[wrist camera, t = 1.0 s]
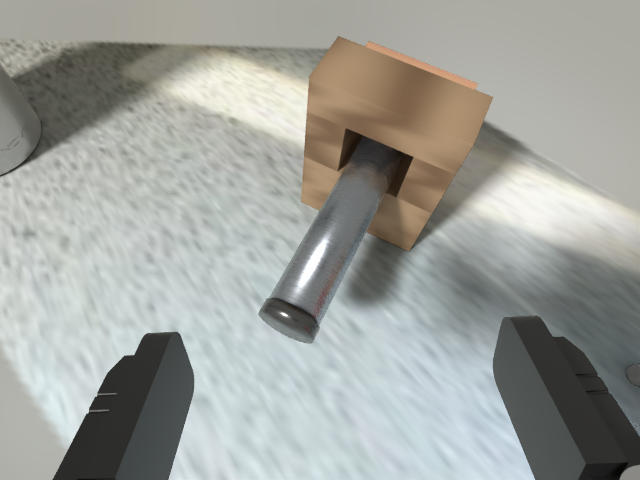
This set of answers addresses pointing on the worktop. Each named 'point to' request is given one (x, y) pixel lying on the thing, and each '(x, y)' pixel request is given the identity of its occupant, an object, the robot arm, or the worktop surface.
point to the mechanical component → (634, 374)
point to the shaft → (331, 242)
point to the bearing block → (388, 132)
